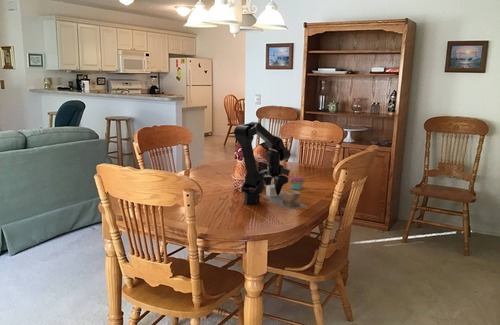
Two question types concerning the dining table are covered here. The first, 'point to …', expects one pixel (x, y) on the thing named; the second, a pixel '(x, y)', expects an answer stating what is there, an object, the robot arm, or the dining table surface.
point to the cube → (291, 198)
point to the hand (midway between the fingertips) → (273, 192)
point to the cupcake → (296, 181)
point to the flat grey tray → (277, 197)
